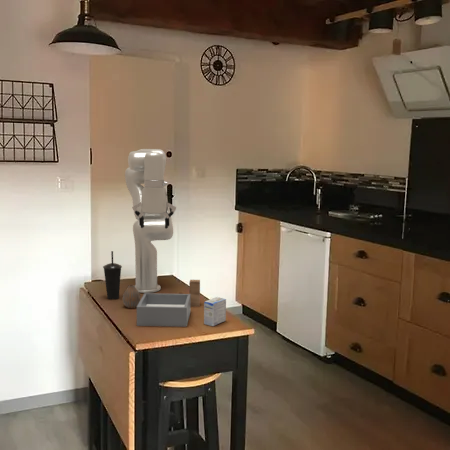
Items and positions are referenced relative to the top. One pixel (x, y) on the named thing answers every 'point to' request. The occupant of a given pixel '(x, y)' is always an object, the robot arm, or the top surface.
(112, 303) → the top surface
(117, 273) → the drinking cup
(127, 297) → the vase
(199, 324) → the top surface
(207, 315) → the medicine box
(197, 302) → the peg
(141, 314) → the open box
